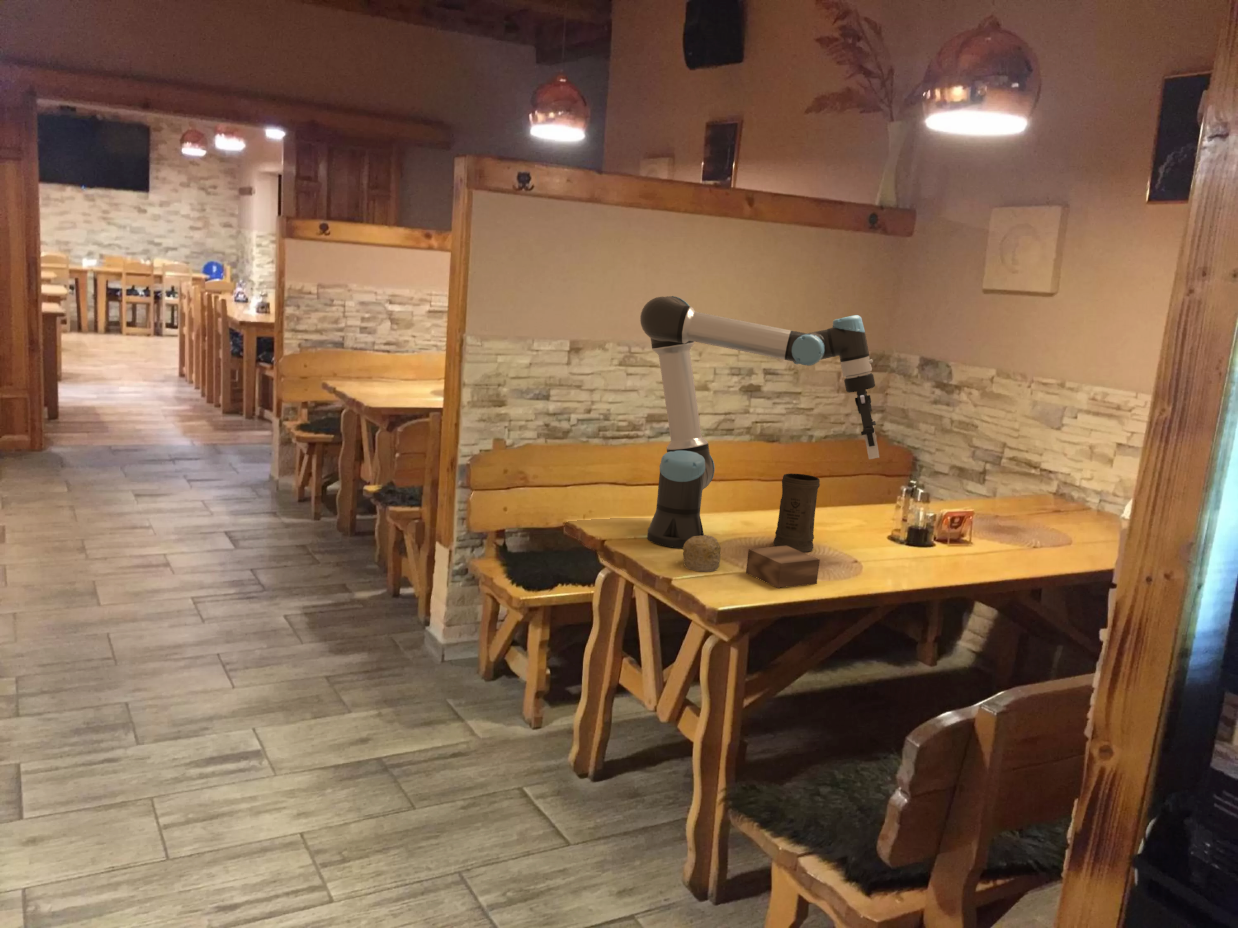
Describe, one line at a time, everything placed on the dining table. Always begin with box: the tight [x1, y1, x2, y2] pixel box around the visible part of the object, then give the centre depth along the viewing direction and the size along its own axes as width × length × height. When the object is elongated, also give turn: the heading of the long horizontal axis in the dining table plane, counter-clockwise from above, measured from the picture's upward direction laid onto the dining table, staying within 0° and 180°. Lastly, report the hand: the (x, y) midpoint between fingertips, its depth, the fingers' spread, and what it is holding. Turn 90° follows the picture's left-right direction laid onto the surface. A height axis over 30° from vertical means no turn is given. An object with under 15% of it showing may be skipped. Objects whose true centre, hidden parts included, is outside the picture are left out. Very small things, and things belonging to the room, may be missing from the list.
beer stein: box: [772, 473, 821, 553], centre depth 264 cm, size 15×11×20 cm
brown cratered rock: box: [682, 534, 721, 573], centre depth 238 cm, size 9×9×8 cm
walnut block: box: [745, 546, 821, 589], centre depth 234 cm, size 12×12×6 cm
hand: (873, 454), depth 256 cm, fingers open, 13 cm apart
